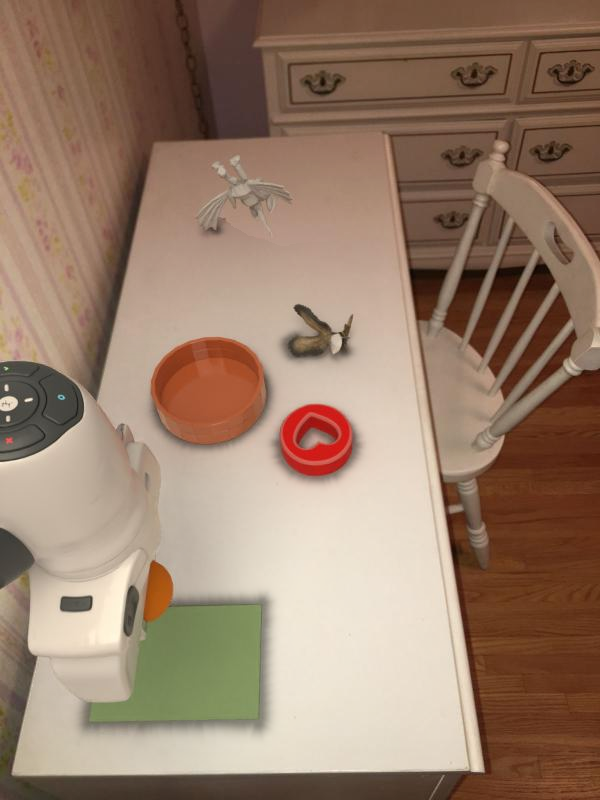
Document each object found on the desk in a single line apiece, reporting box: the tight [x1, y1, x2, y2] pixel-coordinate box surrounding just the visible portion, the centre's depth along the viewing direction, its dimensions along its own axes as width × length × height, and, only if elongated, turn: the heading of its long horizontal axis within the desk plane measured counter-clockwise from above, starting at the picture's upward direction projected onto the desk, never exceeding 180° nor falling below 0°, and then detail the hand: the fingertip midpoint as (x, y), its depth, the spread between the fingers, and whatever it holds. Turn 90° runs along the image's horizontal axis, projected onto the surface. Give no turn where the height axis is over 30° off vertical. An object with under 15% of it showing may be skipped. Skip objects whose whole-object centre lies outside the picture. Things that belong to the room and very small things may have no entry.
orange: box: [143, 560, 174, 622], centre depth 58 cm, size 6×6×6 cm
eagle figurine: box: [286, 303, 354, 357], centre depth 95 cm, size 8×7×9 cm
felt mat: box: [88, 604, 263, 723], centre depth 71 cm, size 18×12×1 cm, turn 90°
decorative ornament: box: [279, 403, 354, 477], centre depth 86 cm, size 10×10×3 cm
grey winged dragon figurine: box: [194, 154, 295, 239], centre depth 109 cm, size 10×18×14 cm, turn 85°
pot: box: [150, 336, 267, 445], centre depth 91 cm, size 16×16×4 cm
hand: (142, 594), depth 58 cm, fingers closed on orange, 5 cm apart
